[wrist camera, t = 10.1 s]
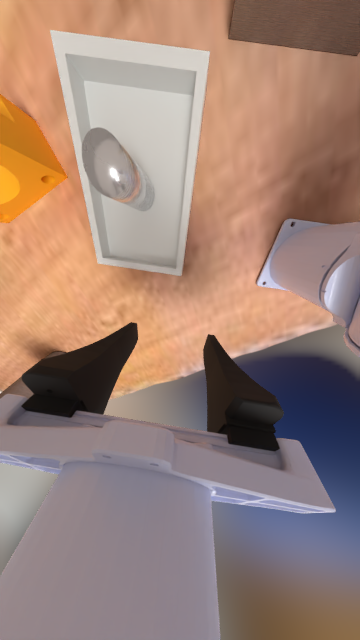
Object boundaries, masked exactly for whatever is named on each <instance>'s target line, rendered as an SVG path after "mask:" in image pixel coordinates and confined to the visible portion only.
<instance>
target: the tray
mask: <svg viewBox="0 0 360 640" xmlns="http://www.w3.org/2000/svg"><path fill="white" fill-rule="evenodd" d="M50 32H51V37H52V42H53V47H54V52H55V57H56V62H57V66H58V71H59V76H60V81H61V86H62V91H63V96H64V100H65V105H66V110H67V115H68V120H69V125H70V130H71V134H72V139H73V144H74V149H75V154H76V159H77V164H78V169H79V173H80V178H81V183H82V188H83V193H84V198H85V203H86V207H87V212H88V217H89V222H90V227H91V232H92V237H93V241H94V246H95V251H96V256H97V261H98V263H99V264H105V265H112V266H118V267H125V268H131V269H138V270H145V271H151V272H158V273H164V274H171V275H178V276H182V273H183V266H184V258H185V250H186V243H187V235H188V227H189V220H190V212H191V205H192V197H193V189H194V182H195V174H196V166H197V159H198V151H199V143H200V136H201V128H202V120H203V113H204V105H205V97H206V90H207V79H208V68H209V56H210V51H203V50H196V49H188V48H181V47H173V46H166V45H159V44H151V43H144V42H136V41H129V40H121V39H114V38H106V37H99V36H92V35H84V34H77V33H69V32H62V31H54V30H50ZM96 127H99V128H104V129H106V130H108V131H109V132H110V133H112V134H113V135H114V137H115V138H116V139H117V140H118V141H119V143H120V144H121V145H122V146H123V147H124V149H125V150H126V151H127V152H128V153H129V155H130V156H131V157H132V158H133V159H134V161H135V162H136V163H137V164H138V165H139V167H140V168H141V169H142V170H143V172H144V173H145V174H146V175H147V176H148V178H149V179H150V180H151V182H152V184H153V187H154V192H155V198H154V202H153V205H152V206H151V208H150V209H149V210H147V211H139V210H137V209H135V208H132V207H130V206H128V205H125V204H123V203H121V202H118V201H116V200H114V199H111V198H109V197H107V196H104V195H103V194H101V193H100V192H98V191H97V190H96V189H95V187H94V186H93V185H92V183H91V182H90V180H89V178H88V176H87V174H86V172H85V169H84V165H83V160H82V144H83V140H84V137H85V135H86V134H87V132H88V131H89V130H91V129H93V128H96Z"/></svg>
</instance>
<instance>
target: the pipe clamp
mask: <svg viewBox="0 0 360 640" xmlns="http://www.w3.org/2000/svg"><path fill="white" fill-rule="evenodd" d="M66 178H68V177H67V175H66V174H65V172H64V170H63V168H62V167H61V165H60V163H59V161H58V160H57V158H56V156H55V154H54V153H53V151H52V149H51V147H50V146H49V144H48V142H47V140H46V139H45V137H44V135H43V133H42V132H41V130H40V128H39V126H38V125H37V123H36V121H35V120H34V119H32V118H31V117H30V116H28V115H27V114H26V113H24V112H23V111H22V110H21V109H19V108H18V107H17V106H15V105H14V104H13V103H11V102H10V101H9V100H7V99H6V98H5V97H3V96H2V95H1V94H0V222H2V223H9V222H11V221H12V220H13V219H15V218H16V217H17V216H18V215H20V214H21V213H22V212H24V211H25V210H26V209H27V208H29V207H30V206H31V205H33V204H34V203H35V202H37V201H38V200H39V199H40V198H42V197H43V196H44V195H46V194H47V193H48V192H49V191H51V190H52V189H53V188H55V187H56V186H57V185H58V184H60V183H61V182H62V181H64V180H65V179H66Z"/></svg>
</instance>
